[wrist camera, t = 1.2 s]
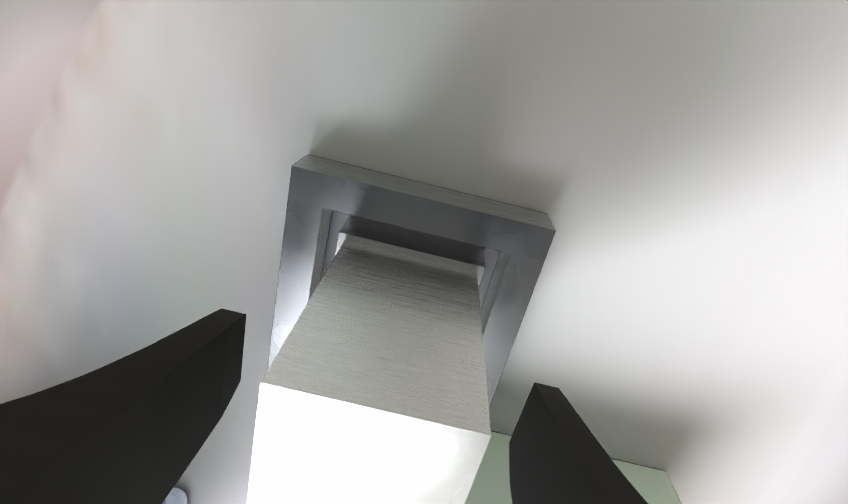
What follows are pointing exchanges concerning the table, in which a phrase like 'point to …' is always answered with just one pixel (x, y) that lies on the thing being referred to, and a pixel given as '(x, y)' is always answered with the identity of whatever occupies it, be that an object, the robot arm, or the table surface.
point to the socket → (418, 210)
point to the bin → (492, 479)
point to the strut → (378, 378)
